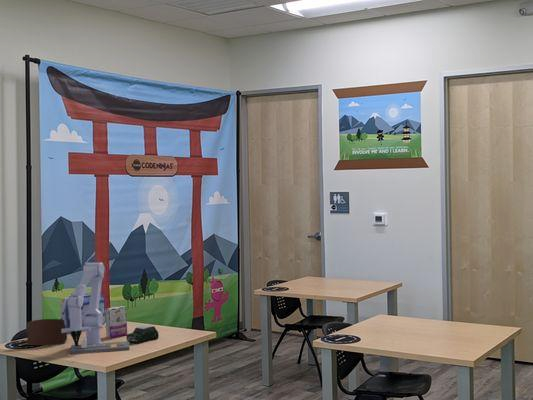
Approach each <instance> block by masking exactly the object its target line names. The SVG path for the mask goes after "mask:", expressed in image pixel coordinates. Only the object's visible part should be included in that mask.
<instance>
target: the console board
mask: <svg viewBox="0 0 533 400" xmlns="http://www.w3.org/2000/svg"><path fill="white" fill-rule="evenodd" d="M119 351H130V342H129V341H127V340H126V341H115V342H114V341H113V342H101V343H98V344H87V347H86V348H81V344H78V346H75V344H73V345H71V346H70V347H69V351H68V352H69V355H77V354H90V353H91V354H92V353H101V352H103V353H104V352H119Z"/></svg>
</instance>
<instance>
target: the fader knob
mask: <svg viewBox="0 0 533 400" xmlns="http://www.w3.org/2000/svg"><path fill="white" fill-rule="evenodd" d="M80 339H81V340H80V341H81V343H80V345H81V348H86V347H87V340H86V337H85V338H80Z"/></svg>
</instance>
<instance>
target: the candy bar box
mask: <svg viewBox="0 0 533 400" xmlns="http://www.w3.org/2000/svg"><path fill="white" fill-rule="evenodd" d="M105 318H106V322H105V334H106V338H108V339H113V338H119V337H123V336H127V334H128V323H127V322H128V321H127V307H126V306H125V305H121V306H113V307H109V308H106V309H105Z"/></svg>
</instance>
